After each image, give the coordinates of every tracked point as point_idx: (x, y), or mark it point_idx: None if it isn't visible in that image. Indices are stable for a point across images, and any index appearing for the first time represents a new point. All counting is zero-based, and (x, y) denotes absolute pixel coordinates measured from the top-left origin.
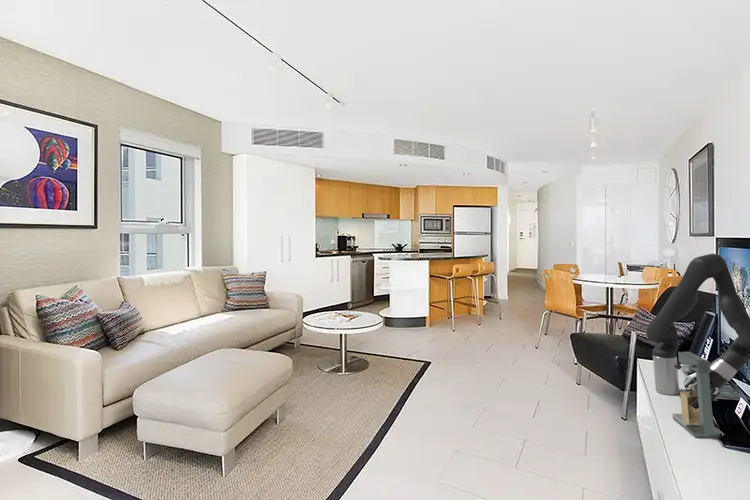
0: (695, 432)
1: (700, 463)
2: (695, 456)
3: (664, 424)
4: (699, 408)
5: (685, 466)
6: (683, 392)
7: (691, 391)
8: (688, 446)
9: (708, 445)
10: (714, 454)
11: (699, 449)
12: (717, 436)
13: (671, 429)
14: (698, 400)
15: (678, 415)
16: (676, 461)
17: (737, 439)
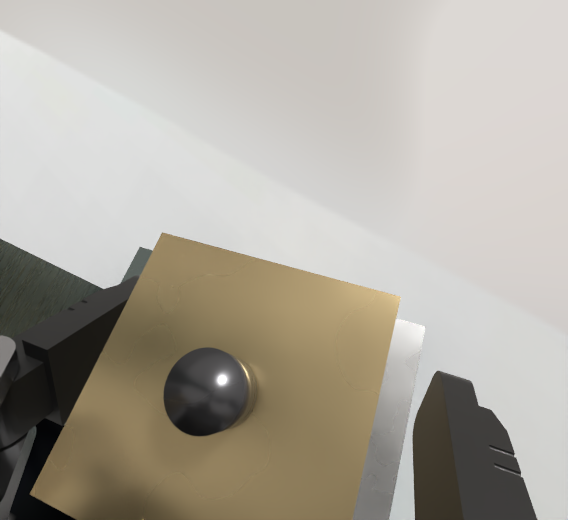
0: (145, 261)
1: (11, 129)
2: (48, 145)
3: (350, 231)
4: (7, 244)
5: (30, 79)
6: (339, 320)
7: (187, 405)
8: (112, 175)
9: (74, 260)
10: (15, 220)
11: (73, 196)
12: None
13: (280, 222)
14: None
15: None
16: (64, 74)
17: (26, 485)
